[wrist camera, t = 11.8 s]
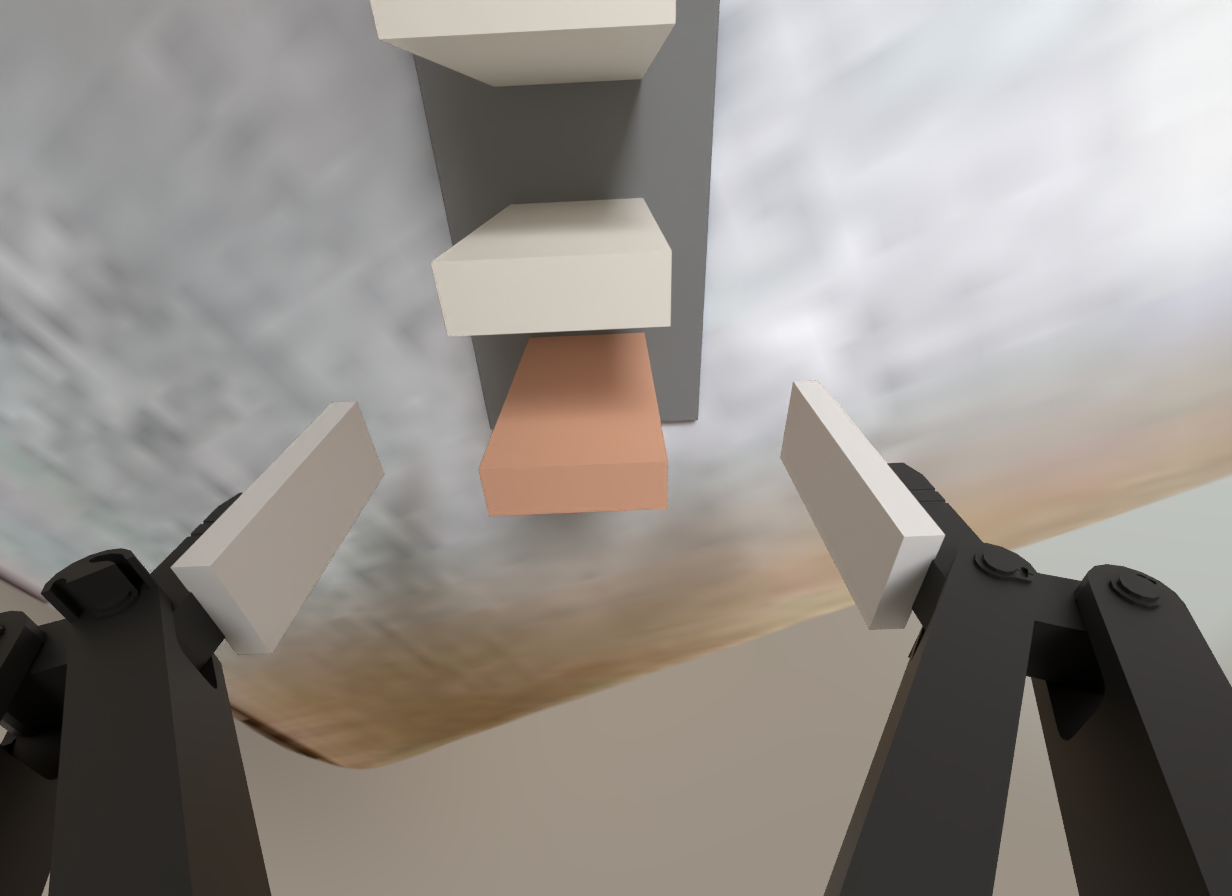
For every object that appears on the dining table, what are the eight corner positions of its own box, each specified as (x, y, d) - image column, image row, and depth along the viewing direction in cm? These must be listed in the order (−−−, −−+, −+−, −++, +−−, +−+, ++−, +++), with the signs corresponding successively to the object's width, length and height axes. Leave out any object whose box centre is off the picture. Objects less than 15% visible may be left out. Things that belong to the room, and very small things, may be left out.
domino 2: (510, 204, 19) (430, 262, 10) (643, 197, 19) (671, 250, 10) (517, 248, 20) (448, 336, 11) (643, 243, 20) (670, 326, 11)
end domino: (529, 337, 22) (478, 469, 13) (644, 332, 21) (667, 461, 13) (534, 371, 22) (489, 515, 14) (645, 366, 22) (667, 509, 14)
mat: (252, -756, 10) (239, -788, 10) (757, -793, 10) (762, -827, 9) (492, 424, 24) (490, 429, 24) (696, 416, 24) (697, 420, 24)
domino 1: (485, 25, 16) (347, -97, 8) (640, 16, 16) (677, -116, 7) (494, 86, 17) (378, 39, 8) (641, 79, 17) (675, 23, 8)
